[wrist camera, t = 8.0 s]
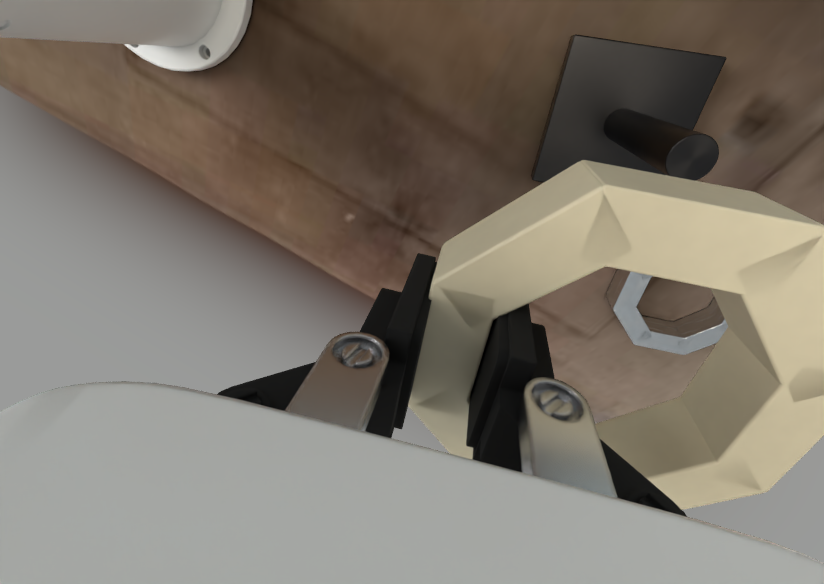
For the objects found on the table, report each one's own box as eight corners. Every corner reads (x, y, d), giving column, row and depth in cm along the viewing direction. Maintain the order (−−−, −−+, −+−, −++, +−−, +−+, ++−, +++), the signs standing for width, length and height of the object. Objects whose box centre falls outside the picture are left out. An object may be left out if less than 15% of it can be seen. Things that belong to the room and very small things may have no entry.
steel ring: (592, 322, 35) (599, 337, 33) (639, 219, 30) (650, 230, 28) (705, 345, 34) (719, 362, 32) (772, 243, 30) (793, 256, 27)
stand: (530, 176, 30) (552, 236, 20) (571, 35, 25) (627, 15, 15) (653, 198, 29) (743, 272, 19) (717, 57, 25) (883, 53, 14)
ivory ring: (408, 412, 15) (394, 468, 13) (464, 137, 10) (456, 156, 8) (678, 478, 14) (710, 550, 12) (886, 216, 9) (1003, 261, 7)
